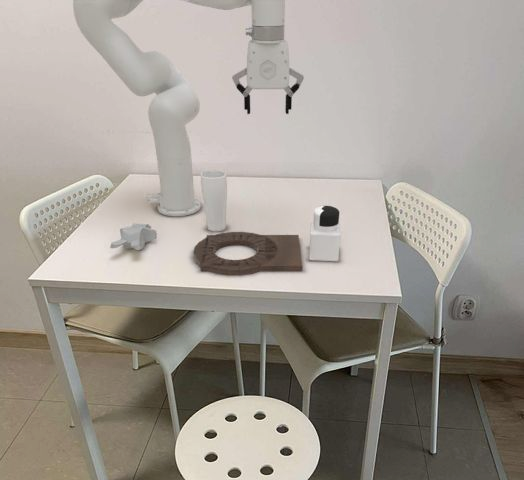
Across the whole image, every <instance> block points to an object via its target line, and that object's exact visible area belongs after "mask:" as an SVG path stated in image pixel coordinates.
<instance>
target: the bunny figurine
mask: <svg viewBox="0 0 524 480" xmlns="http://www.w3.org/2000/svg"><path fill="white" fill-rule="evenodd" d="M119 232H120V238H121V239H118V240H115V241H112V242H111V243H110V246H109V248H110V249H117V248H119V247H121V246H122V247H123V248H125V249H127V250H131V249H133V250H136V251H140V250H143V249H144V248H145V245H146V243H147V242H151V241H154V240H156V239H157V230H156V229H153V228H152V225H150V224H149V223H133V222H132V224H131V226H125V227H121V228H119Z"/></svg>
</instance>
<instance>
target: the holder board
mask: <svg viewBox="0 0 524 480" xmlns="http://www.w3.org/2000/svg"><path fill="white" fill-rule="evenodd" d="M205 236H206V237H204V238H203V239H202V240H200V241H198V243H197V244H196V245H195V246H194V247H193V251H192V252H193V259H194V262H195V264H196V265H198V267H200V272H209V273H213V274H217V275H222V276H223V275H224V276H244V275H252V274H255V273H259V272H303V260H302V252H301V244H300V236H299V234H259V233H255V232H249V231H228V232H220V233H215V234H206V235H205ZM230 246H231V247H232V246H243V247H249V248H251V249H253V250H255V251H256V253H255V254H254V255H252V256H250V257H247V258H243V259H241V258H240V259H228V258H223V257H220V256H218V255H217V254H216V252H217V251H219V250H220V249H223V248H225V247H230Z"/></svg>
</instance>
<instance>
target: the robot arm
mask: <svg viewBox="0 0 524 480" xmlns="http://www.w3.org/2000/svg"><path fill="white" fill-rule="evenodd" d="M143 1H144V0H73V2H72V8H73V15H74V19H75V23H76V25H77V27H78V28H79V32H80V33H81V34H82V36H83V37H84V38H85V39H86V41H87V42H88V43H89V44H90V45H91V47H93V49H94V50H95V51H96V52H97V53H98V54H99V55H100V56H101V58H102V59H103V60H104V61H105V62H106V63H107V64H108V66H109V67H110V68H111V69H112V70H113V72H114V73H115V74H116V76H117V77H118V78H119V79H120V80H121V82H123V84H124V85H125V86H126V87H127V89H128V90H129V91H130V92H132V94H134V95H136V96H138V97H147V96H150V95H153V94H155V96H154V97H153V99H151V102H150V103H149V106H148V110H147V111H148V112H147V113H148V114H147V115H148V121H149V124H150V125H149V126H150V128H151V132H152V135H153V140H154V146H155V155H156V161H157V163H156V164H157V171H158V178H159V186H160V188H159V189H160V192H158V193H157V194H156V193H155V194H153V193H147V194H146V200H147V202H149V204H157V211H158V213H160V214H161V215H164V216H169V217H185V216H190V215H193V214H195V213H197V212H199V211H200V210H201V208H202V207H201V206H202V205H201V202H200V200H198V199H196V198H195V197H196V196H195V184H194V174H193V173H194V171H193V161H192V159H193V158H192V149H191V141H190V137H189V134H188V131H187V127H186V125H188V124H189V123H191V122H192V121H193V120H195V119H196V118H197V117H198V115H199V112H200V108H201V105H200V104H201V103H200V98H199V96H198V94H197V92H196V91H195V89H194V88H193V87H192V86H191V84H190V82H188V80H187V79H186V78H185V76H183V74H182V73H181V72H180V70H179V69H178V68H177V67H176V66H175V64H174V63H173V62H172V60H170V58H168V57H167V56H166V55H164V54H163V53H161V52H159V51H155V50H150V51H146V52H144V51H142V50H141V49H140V48H139V47H138V46H137V44H136V43H135V42H134V40H132V38H131V36H129V34H128V33H127V32H126V31H124V30H123V29H122V28H121V27H119V26H118V25H117V24H115V22H113V19H114V20H115V19H118V18H122V17H125V16H127V15H129V14H130V13H132V12H133V11H134V10H135V9H136V8H137V7H138V6H139V5H140V4H141V3H142V2H143ZM181 1H182V2H187V3H190V4H193V5H197V6H201V7H206V8H210V9H217V10H222V11H230V10H234V9H239V8H244V7H249V6H251V26H250V27H249V28H245V36H249V37H250V38H251V40H249V41H248V45H247V53H246V54H247V55H246V67H245V68H243V69H241V70H240V71H238V72H237V73H235V74H233V75H232V77H231V79H232V81H233V84H234V85H235V87H236V89H237V90H238V92H240V94H241V95H242V96H243V101H244V102H243V109H244V111H246V114H247V115H250V114H251V95H250V93H251V92H252V90H284V92H285V93H286V94H285V110H284V111H285V112H284V113H285V114H286V115H289V112H290V111H291V110H292V101H293V99H292V98H293V96H294V94H296V92H297V91H299V89H300V87H301V85H302V83H303V80H305V79H304V78H305V77H304V75H303V74H302V73H300V72H298V71H296V70H295V69H293V68H291V67H290V54H289V53H290V51H289V44H288V40H285V18H286V17H285V14H286V13H285V12H286V9H285V8H286V0H181ZM245 76H246V84H247V85H245V87H244V85H243V84H242V83H241V81H240V79H242V78H243V77H245ZM290 76H291V77H293V78H295V79H296V81H295V83H294V84H293V85H292V86H291V87H290V85H289V84H290Z"/></svg>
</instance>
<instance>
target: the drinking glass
mask: <svg viewBox="0 0 524 480" xmlns="http://www.w3.org/2000/svg"><path fill="white" fill-rule="evenodd" d="M200 188H201V196H202V201H203V208H204V214H205V215H204V216H205V221H206V228H207V230H209V231H211V232H222V231H224V230H226V228H227V209H228V208H227V207H228V206H227V204H228V176H227V172H226V171H224V170H222V169H209V170H208V169H207V170H204V171H202V172H201V173H200Z"/></svg>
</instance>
